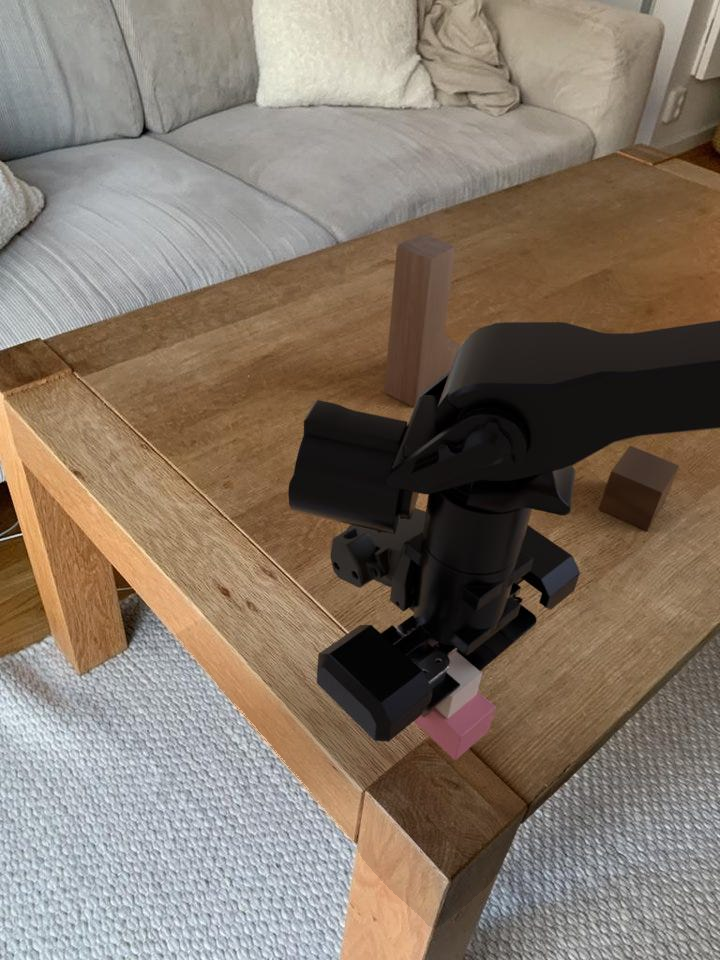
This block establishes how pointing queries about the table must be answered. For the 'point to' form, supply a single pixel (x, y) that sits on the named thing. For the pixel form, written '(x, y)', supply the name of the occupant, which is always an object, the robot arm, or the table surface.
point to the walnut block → (638, 487)
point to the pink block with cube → (459, 711)
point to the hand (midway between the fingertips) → (439, 695)
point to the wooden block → (419, 318)
